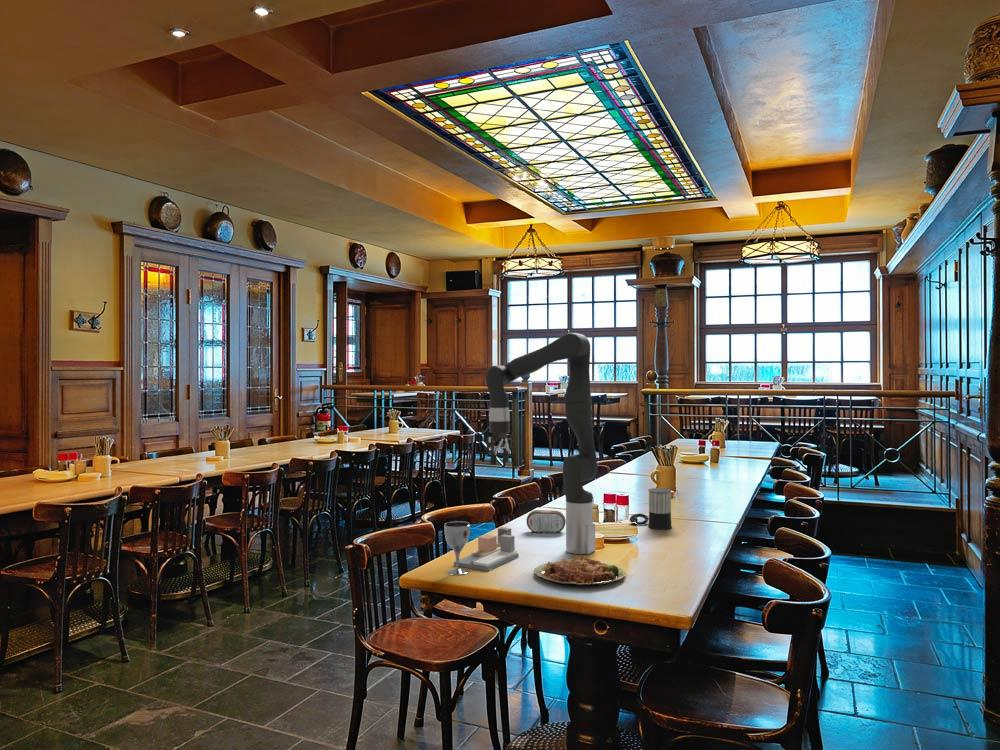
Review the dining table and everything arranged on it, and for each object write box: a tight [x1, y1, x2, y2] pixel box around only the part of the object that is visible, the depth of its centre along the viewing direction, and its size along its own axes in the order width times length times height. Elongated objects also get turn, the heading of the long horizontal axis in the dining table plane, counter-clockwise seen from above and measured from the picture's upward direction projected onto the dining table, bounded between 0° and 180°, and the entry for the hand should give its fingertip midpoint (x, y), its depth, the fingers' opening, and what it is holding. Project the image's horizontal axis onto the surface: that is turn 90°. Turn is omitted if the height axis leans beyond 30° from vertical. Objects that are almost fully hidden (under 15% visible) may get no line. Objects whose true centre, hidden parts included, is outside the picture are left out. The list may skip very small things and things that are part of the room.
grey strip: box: [473, 534, 517, 567], centre depth 226 cm, size 6×18×6 cm, turn 149°
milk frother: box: [629, 487, 673, 530], centre depth 277 cm, size 14×16×15 cm
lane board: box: [453, 549, 519, 572], centre depth 227 cm, size 13×19×2 cm
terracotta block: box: [477, 534, 498, 552], centre depth 234 cm, size 4×4×4 cm
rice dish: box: [533, 556, 626, 586], centre depth 211 cm, size 28×28×5 cm
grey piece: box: [471, 526, 512, 556], centre depth 237 cm, size 6×18×6 cm, turn 149°
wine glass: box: [443, 520, 471, 576], centre depth 215 cm, size 8×8×15 cm
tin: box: [526, 509, 566, 533], centre depth 267 cm, size 15×3×8 cm, turn 84°
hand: (499, 463), depth 255 cm, fingers open, 8 cm apart
